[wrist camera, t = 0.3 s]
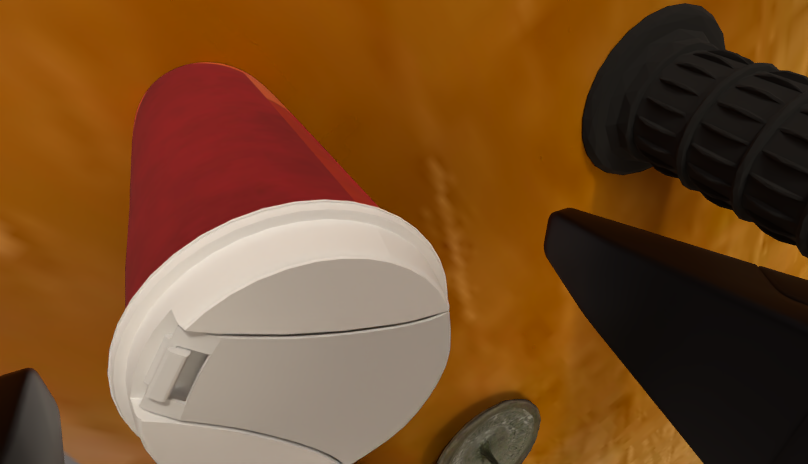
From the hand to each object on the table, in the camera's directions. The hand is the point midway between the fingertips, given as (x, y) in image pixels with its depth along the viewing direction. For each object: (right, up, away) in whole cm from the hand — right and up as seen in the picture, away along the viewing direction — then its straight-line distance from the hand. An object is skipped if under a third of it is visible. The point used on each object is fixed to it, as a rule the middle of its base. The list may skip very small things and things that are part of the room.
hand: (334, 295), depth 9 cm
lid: (+7, -15, +35) cm, 39 cm away
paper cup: (-7, +5, +13) cm, 15 cm away
